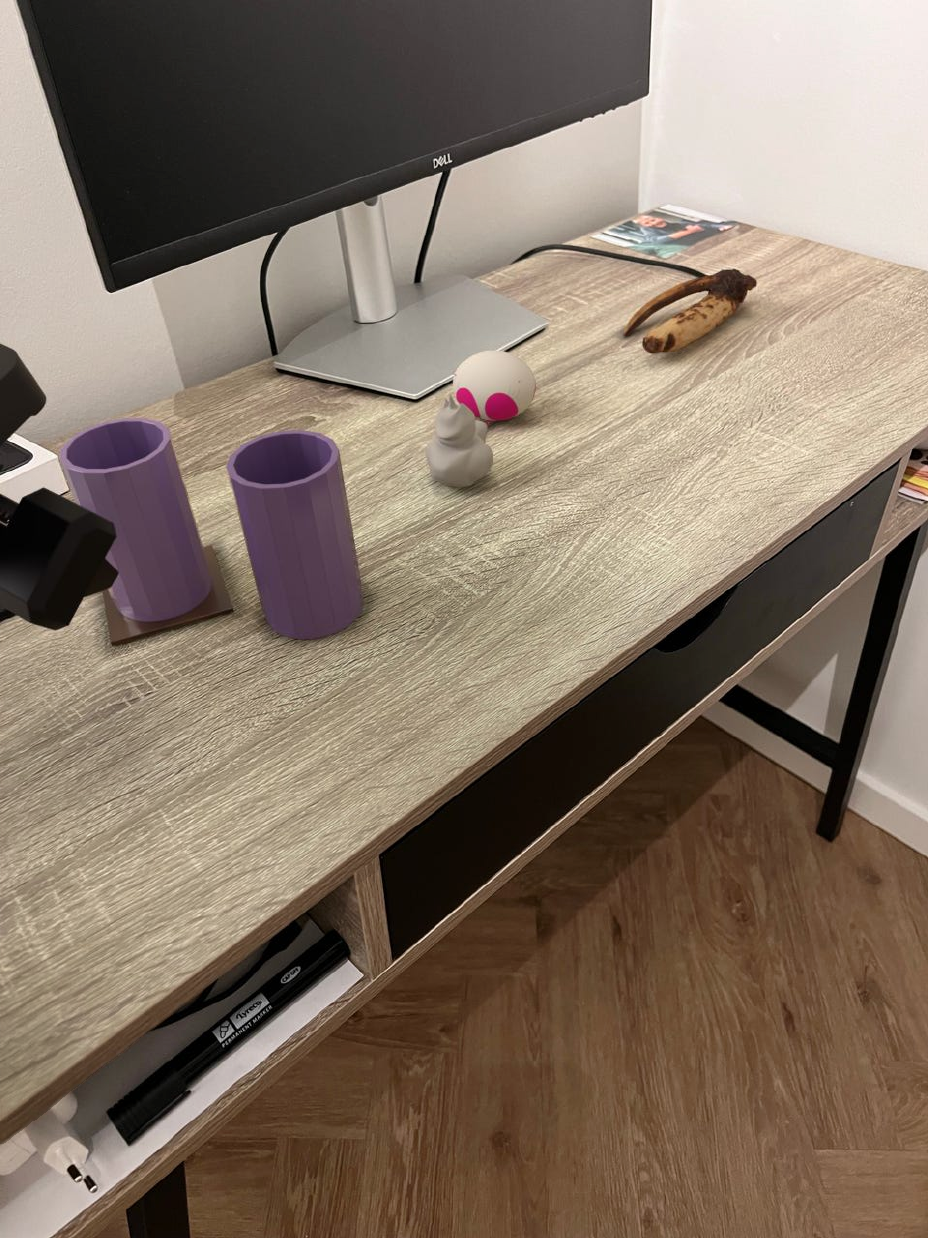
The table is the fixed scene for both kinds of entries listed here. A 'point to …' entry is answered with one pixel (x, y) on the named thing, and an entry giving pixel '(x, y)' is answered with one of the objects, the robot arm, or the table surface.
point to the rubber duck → (458, 446)
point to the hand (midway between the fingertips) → (58, 549)
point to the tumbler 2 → (298, 532)
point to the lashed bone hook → (693, 310)
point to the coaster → (207, 609)
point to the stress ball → (494, 385)
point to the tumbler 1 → (141, 515)
